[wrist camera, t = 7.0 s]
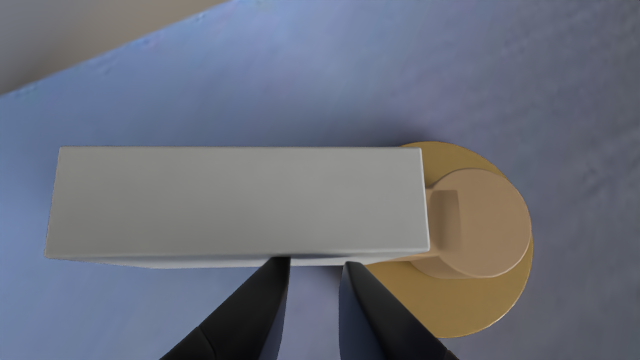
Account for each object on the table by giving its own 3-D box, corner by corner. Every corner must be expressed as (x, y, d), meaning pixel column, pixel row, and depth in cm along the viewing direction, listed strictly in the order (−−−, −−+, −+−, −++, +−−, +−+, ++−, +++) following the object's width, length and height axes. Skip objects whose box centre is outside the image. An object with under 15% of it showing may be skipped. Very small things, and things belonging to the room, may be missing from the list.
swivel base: (550, 215, 18) (565, 211, 17) (463, 376, 16) (474, 382, 15) (401, 115, 18) (407, 106, 17) (300, 258, 16) (301, 256, 15)
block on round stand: (479, 188, 16) (612, 123, 10) (490, 277, 15) (646, 275, 9) (161, 190, 15) (61, 118, 9) (154, 285, 14) (36, 289, 8)
